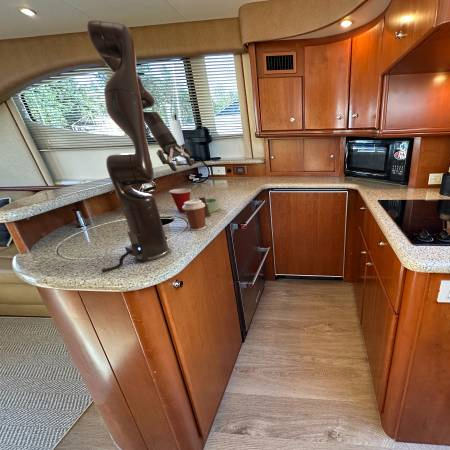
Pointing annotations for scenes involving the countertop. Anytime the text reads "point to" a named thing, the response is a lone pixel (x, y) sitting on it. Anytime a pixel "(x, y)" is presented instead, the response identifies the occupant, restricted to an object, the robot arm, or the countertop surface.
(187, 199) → the plastic cup
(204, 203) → the muddler
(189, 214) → the coffee cup
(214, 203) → the bowl
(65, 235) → the countertop surface
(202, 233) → the countertop surface
